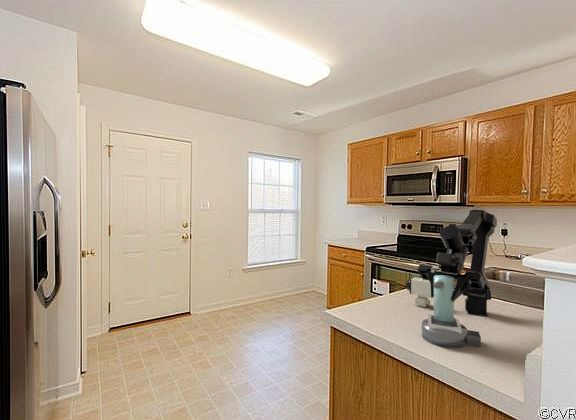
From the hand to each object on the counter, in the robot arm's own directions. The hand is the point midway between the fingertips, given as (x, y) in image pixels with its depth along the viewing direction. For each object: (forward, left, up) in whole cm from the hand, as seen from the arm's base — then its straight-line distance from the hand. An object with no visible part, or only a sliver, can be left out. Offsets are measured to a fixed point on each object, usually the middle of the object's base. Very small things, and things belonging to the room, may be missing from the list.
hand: (442, 298), depth 93 cm
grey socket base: (-2, -1, -13) cm, 13 cm away
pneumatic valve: (+5, -32, -13) cm, 35 cm away
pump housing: (0, 0, -7) cm, 7 cm away
